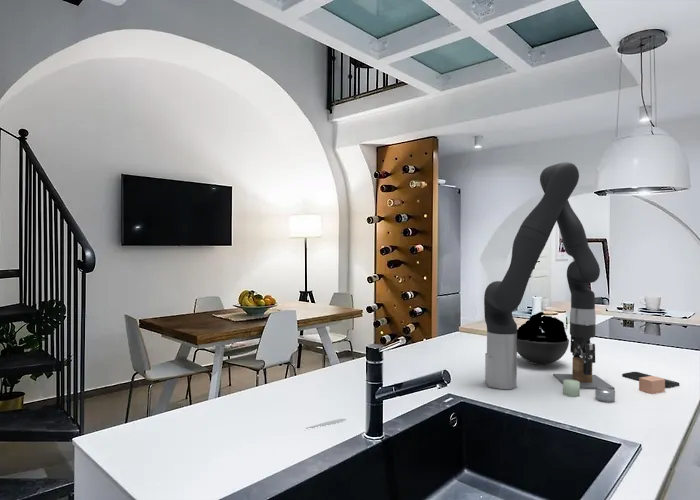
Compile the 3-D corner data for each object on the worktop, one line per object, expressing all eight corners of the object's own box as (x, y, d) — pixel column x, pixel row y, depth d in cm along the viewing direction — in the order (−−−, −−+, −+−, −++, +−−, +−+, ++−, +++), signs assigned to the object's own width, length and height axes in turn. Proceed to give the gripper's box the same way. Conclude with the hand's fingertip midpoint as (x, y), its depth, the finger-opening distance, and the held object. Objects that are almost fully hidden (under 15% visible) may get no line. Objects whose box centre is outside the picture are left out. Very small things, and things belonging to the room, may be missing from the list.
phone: (635, 371, 163) (681, 383, 149) (635, 374, 163) (681, 386, 149) (620, 374, 159) (665, 386, 146) (620, 377, 159) (665, 389, 146)
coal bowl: (552, 374, 161) (552, 320, 161) (500, 362, 176) (501, 313, 176) (578, 364, 174) (579, 314, 173) (528, 354, 189) (529, 308, 189)
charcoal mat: (567, 388, 146) (567, 386, 146) (552, 375, 160) (552, 373, 160) (614, 389, 145) (614, 387, 145) (595, 376, 159) (595, 374, 159)
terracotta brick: (651, 394, 141) (651, 381, 141) (638, 390, 144) (639, 377, 144) (664, 392, 143) (665, 379, 143) (652, 388, 147) (652, 375, 147)
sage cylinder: (566, 396, 138) (566, 383, 138) (561, 392, 143) (561, 379, 143) (581, 397, 138) (581, 383, 138) (576, 392, 142) (576, 379, 142)
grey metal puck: (599, 403, 133) (599, 392, 133) (592, 397, 138) (592, 387, 138) (618, 403, 133) (618, 393, 133) (610, 397, 138) (610, 387, 138)
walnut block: (577, 382, 150) (577, 360, 150) (572, 378, 155) (572, 357, 155) (592, 382, 150) (592, 361, 150) (586, 378, 154) (586, 357, 154)
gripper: (562, 317, 160) (562, 364, 160) (579, 325, 145) (578, 377, 146) (585, 318, 159) (585, 365, 159) (604, 325, 145) (603, 377, 145)
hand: (582, 370), depth 152 cm, fingers open, 8 cm apart
